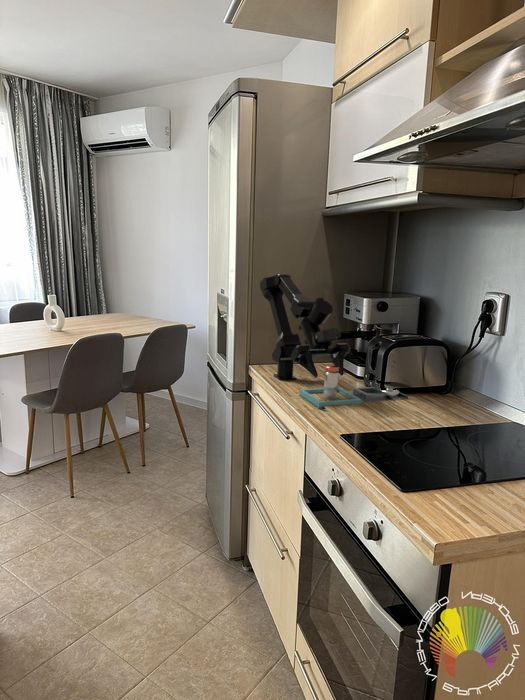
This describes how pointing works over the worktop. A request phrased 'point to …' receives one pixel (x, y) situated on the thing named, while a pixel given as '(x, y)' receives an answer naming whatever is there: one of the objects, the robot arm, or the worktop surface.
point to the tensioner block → (377, 394)
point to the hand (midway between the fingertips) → (329, 375)
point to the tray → (319, 404)
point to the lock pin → (330, 382)
